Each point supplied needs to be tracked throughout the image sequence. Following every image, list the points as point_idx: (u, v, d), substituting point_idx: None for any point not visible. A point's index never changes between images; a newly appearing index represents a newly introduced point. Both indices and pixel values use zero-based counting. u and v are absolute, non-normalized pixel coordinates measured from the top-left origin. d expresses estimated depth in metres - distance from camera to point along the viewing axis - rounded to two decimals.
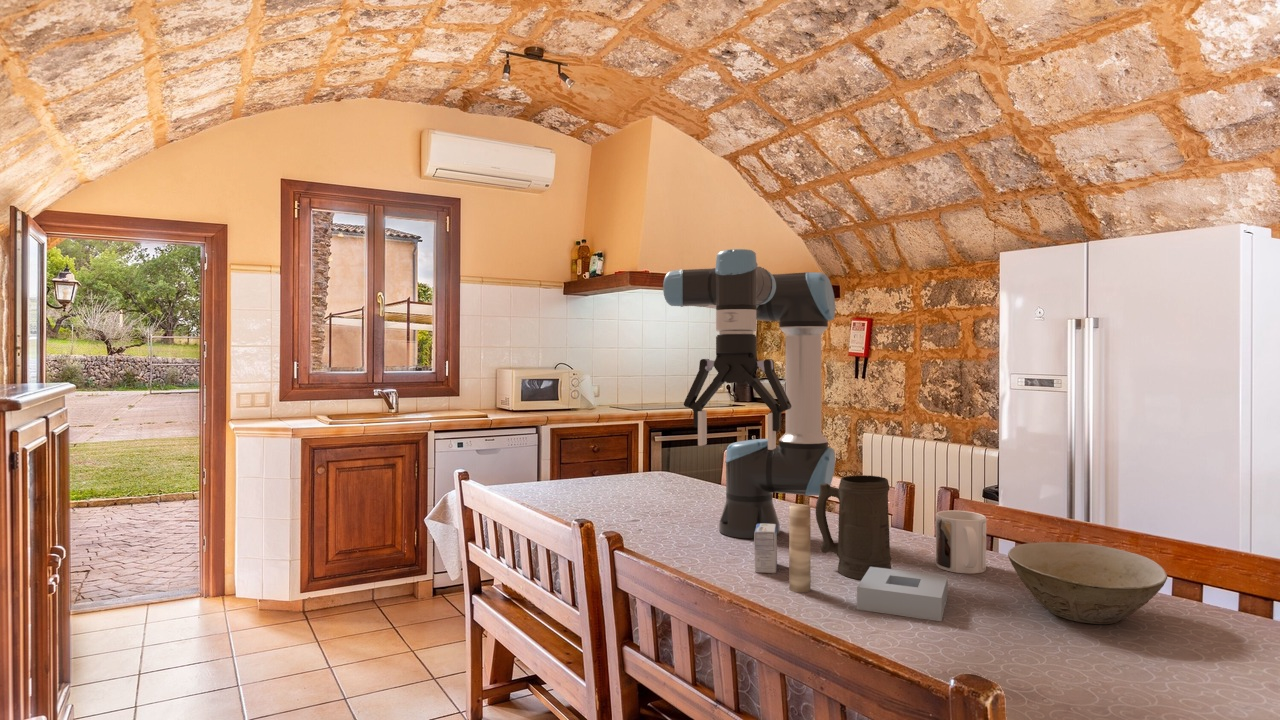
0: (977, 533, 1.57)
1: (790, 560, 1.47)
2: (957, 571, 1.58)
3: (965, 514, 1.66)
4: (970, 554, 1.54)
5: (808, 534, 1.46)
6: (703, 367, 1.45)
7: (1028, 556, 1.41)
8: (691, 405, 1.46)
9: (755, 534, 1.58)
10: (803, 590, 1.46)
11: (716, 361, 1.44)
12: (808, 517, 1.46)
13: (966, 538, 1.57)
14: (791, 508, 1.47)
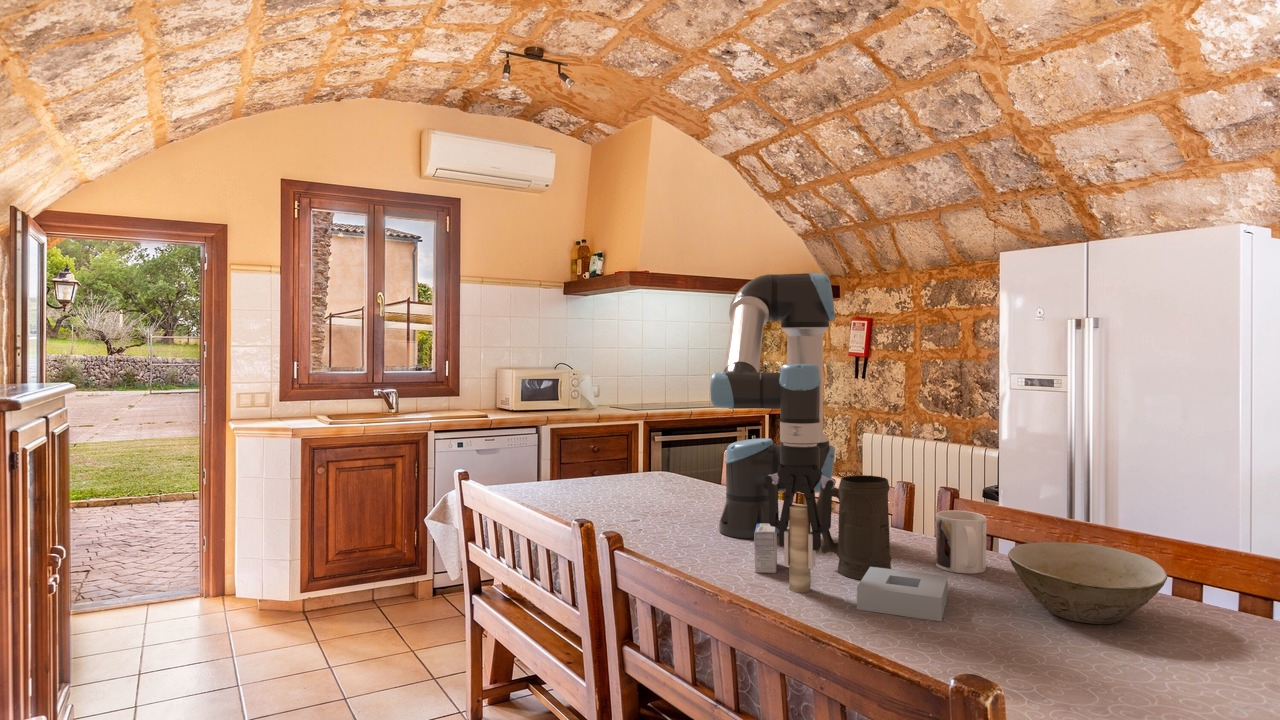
0: (977, 533, 1.57)
1: (790, 560, 1.47)
2: (957, 571, 1.58)
3: (965, 514, 1.66)
4: (970, 554, 1.54)
5: None
6: (770, 483, 1.49)
7: (1028, 557, 1.41)
8: (777, 525, 1.49)
9: (755, 534, 1.58)
10: (803, 590, 1.46)
11: (779, 472, 1.48)
12: (808, 517, 1.46)
13: (966, 538, 1.57)
14: (791, 508, 1.47)
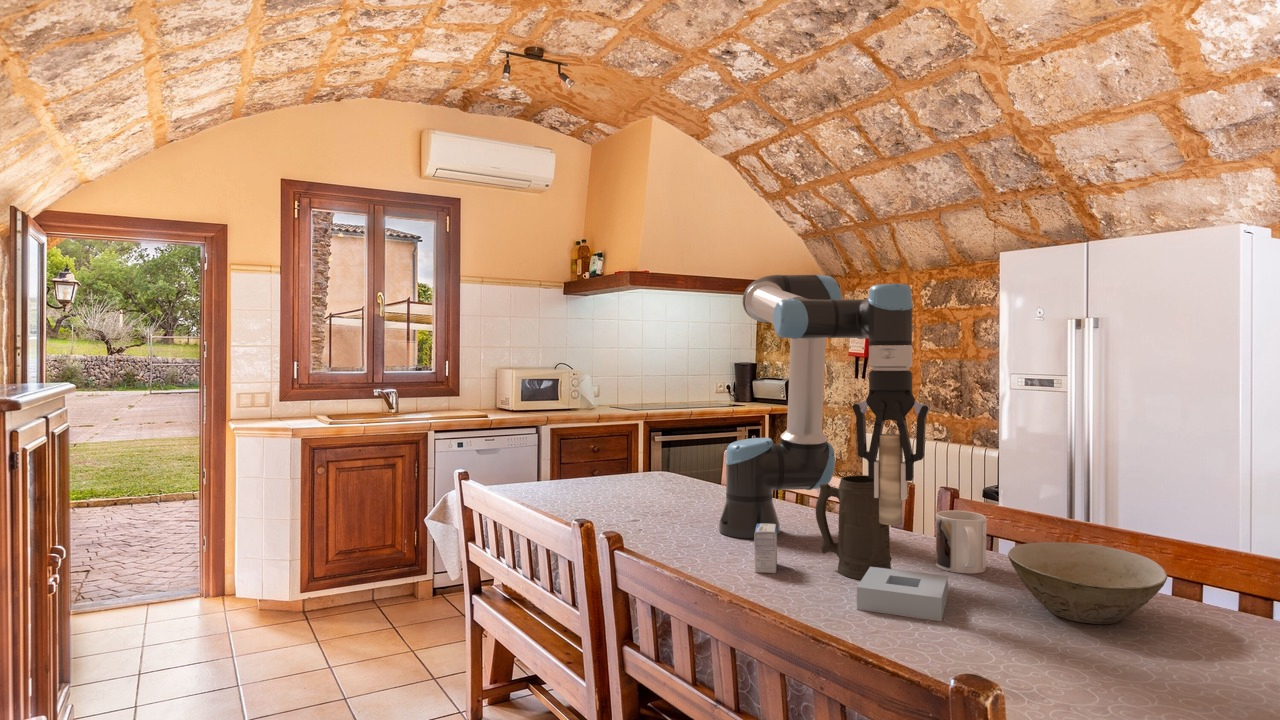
0: (977, 533, 1.57)
1: (880, 492, 1.39)
2: (957, 571, 1.58)
3: (965, 514, 1.66)
4: (970, 554, 1.54)
5: (900, 464, 1.38)
6: (859, 411, 1.41)
7: (1028, 556, 1.41)
8: (866, 455, 1.41)
9: (755, 534, 1.58)
10: (895, 523, 1.38)
11: (868, 399, 1.40)
12: (900, 446, 1.38)
13: (966, 538, 1.57)
14: (882, 436, 1.39)
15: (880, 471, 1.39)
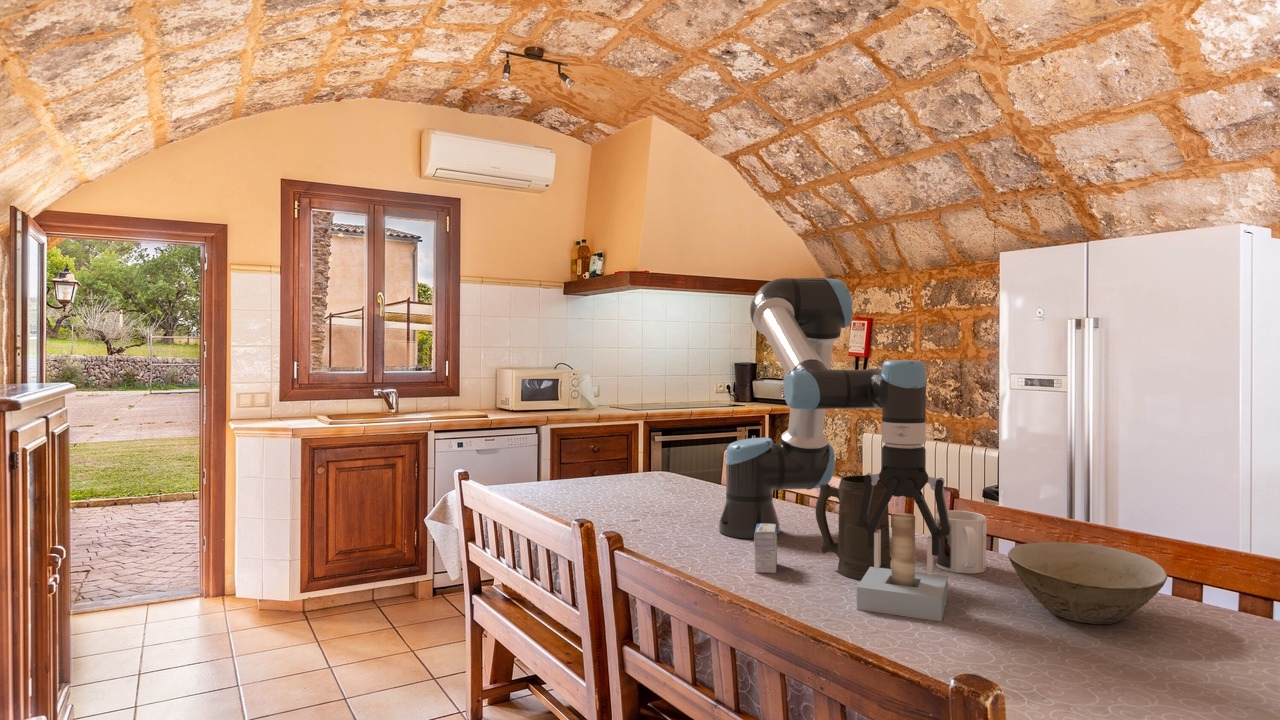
0: (977, 533, 1.57)
1: (893, 572, 1.39)
2: (957, 571, 1.58)
3: (965, 514, 1.66)
4: (970, 554, 1.54)
5: (913, 545, 1.38)
6: (869, 483, 1.40)
7: (1028, 556, 1.41)
8: (866, 525, 1.41)
9: (755, 534, 1.58)
10: None
11: (881, 474, 1.40)
12: (913, 527, 1.38)
13: (966, 538, 1.57)
14: (895, 517, 1.38)
15: (893, 552, 1.39)
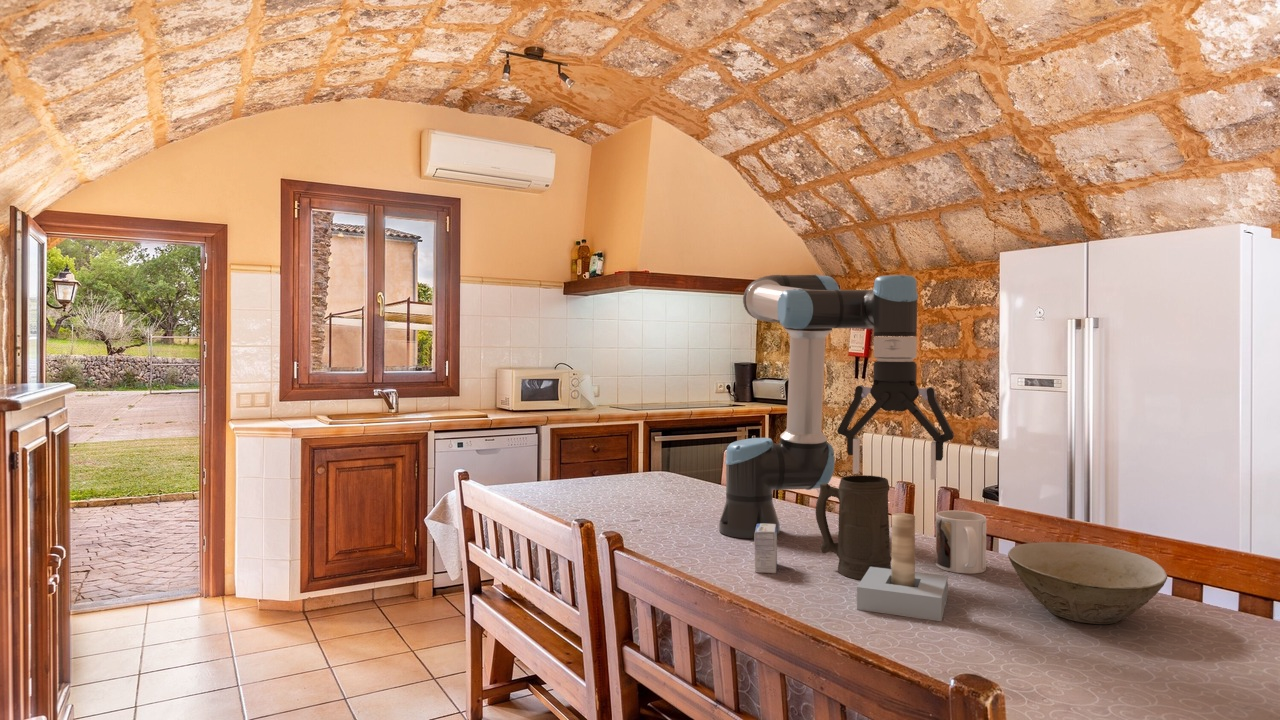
0: (977, 533, 1.57)
1: (893, 572, 1.39)
2: (957, 571, 1.58)
3: (965, 514, 1.66)
4: (970, 554, 1.54)
5: (913, 545, 1.38)
6: (859, 394, 1.42)
7: (1028, 556, 1.41)
8: (845, 432, 1.44)
9: (755, 534, 1.58)
10: None
11: (873, 388, 1.41)
12: (913, 527, 1.38)
13: (966, 538, 1.57)
14: (894, 517, 1.38)
15: (893, 552, 1.39)
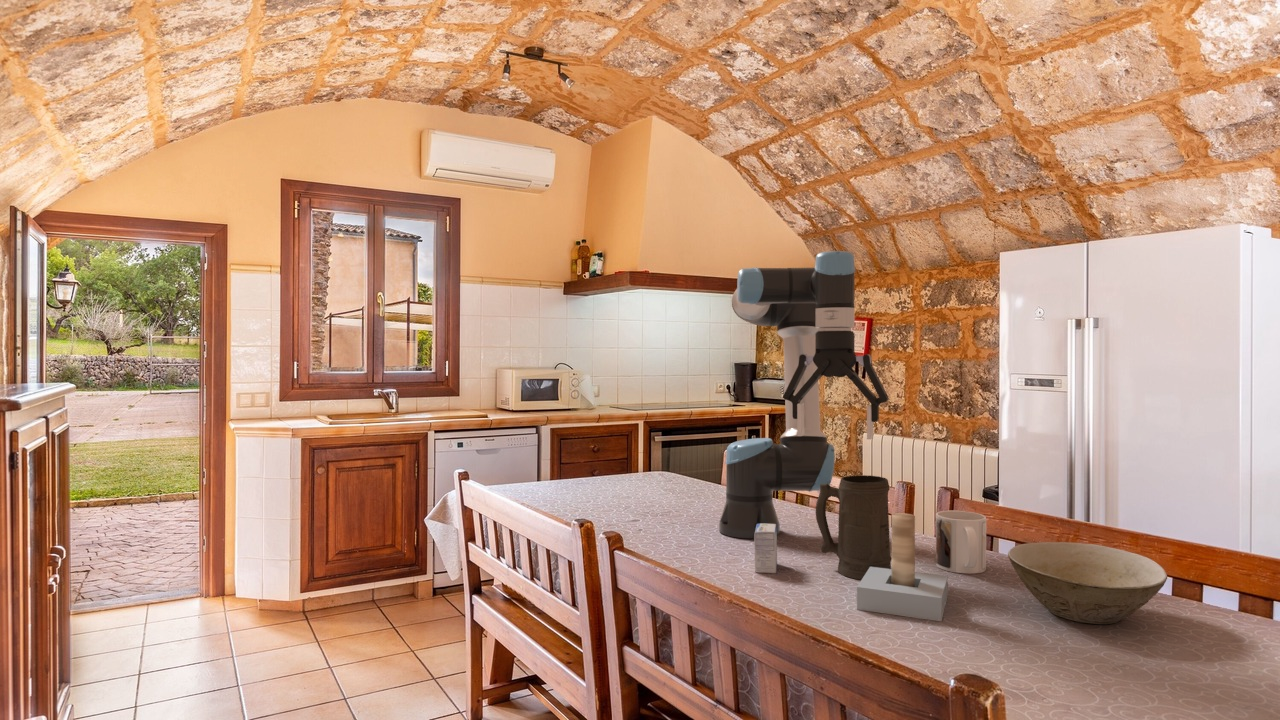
0: (977, 533, 1.57)
1: (893, 572, 1.39)
2: (957, 571, 1.58)
3: (965, 514, 1.66)
4: (970, 554, 1.54)
5: (913, 545, 1.38)
6: (802, 362, 1.54)
7: (1028, 556, 1.41)
8: (790, 398, 1.55)
9: (755, 534, 1.58)
10: None
11: (815, 356, 1.53)
12: (913, 527, 1.38)
13: (966, 538, 1.57)
14: (894, 517, 1.38)
15: (893, 552, 1.39)
